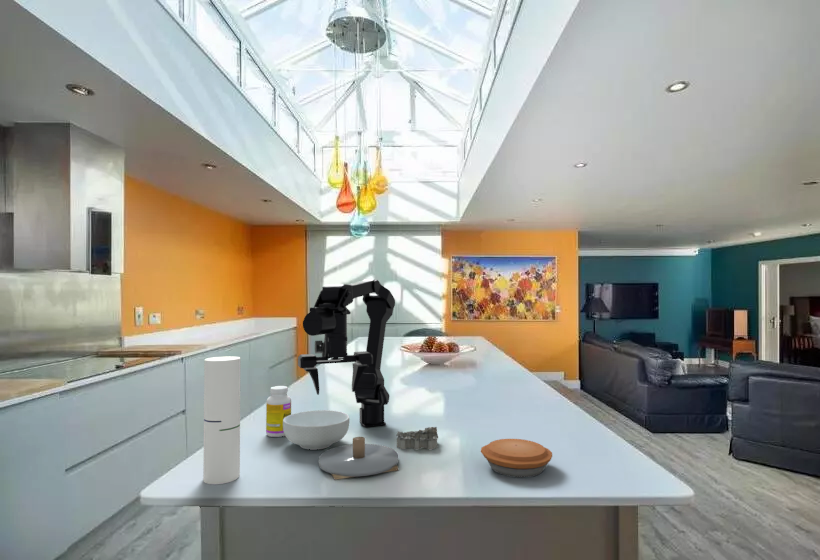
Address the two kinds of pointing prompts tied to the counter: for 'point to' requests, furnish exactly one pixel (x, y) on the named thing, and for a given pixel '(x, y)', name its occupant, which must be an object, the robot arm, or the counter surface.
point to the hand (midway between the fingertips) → (335, 392)
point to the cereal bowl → (316, 428)
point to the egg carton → (418, 439)
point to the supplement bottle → (277, 410)
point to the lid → (358, 459)
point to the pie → (516, 457)
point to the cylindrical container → (221, 419)
